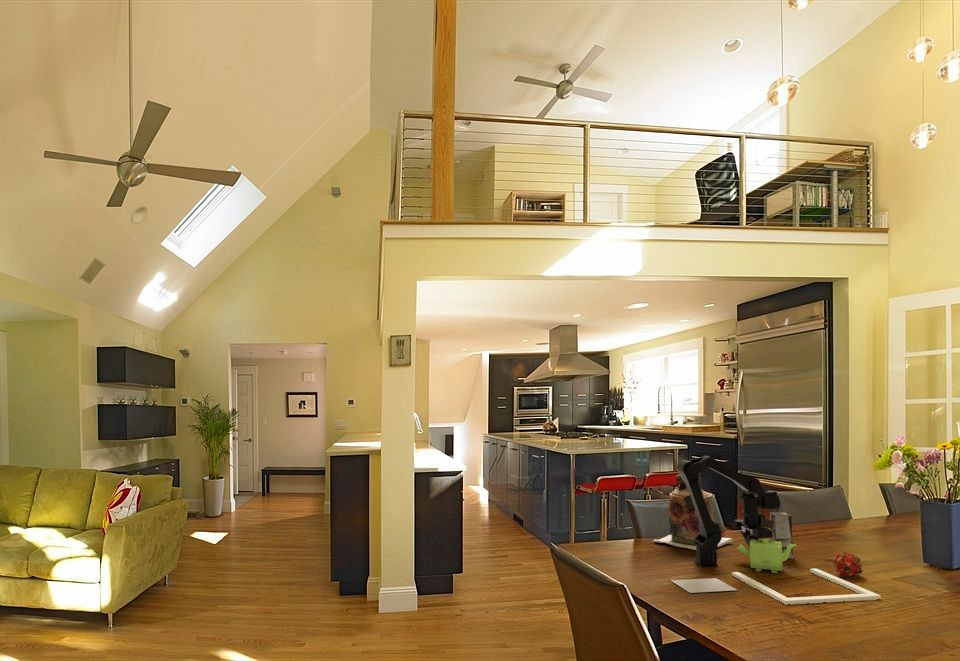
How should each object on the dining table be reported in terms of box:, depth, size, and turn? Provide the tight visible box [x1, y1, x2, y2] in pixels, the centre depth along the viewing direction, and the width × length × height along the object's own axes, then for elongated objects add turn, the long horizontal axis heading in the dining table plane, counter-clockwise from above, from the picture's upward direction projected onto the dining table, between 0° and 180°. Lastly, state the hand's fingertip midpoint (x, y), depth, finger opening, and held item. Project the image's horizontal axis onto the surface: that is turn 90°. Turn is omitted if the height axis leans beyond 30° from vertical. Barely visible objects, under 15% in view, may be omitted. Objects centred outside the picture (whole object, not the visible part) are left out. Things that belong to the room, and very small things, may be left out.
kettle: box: [737, 538, 797, 574], centre depth 242 cm, size 15×14×11 cm
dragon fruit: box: [833, 551, 863, 578], centre depth 235 cm, size 8×8×12 cm
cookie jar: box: [652, 472, 732, 551], centre depth 284 cm, size 25×25×32 cm
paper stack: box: [670, 577, 738, 594], centre depth 218 cm, size 23×25×1 cm
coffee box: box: [769, 511, 794, 559], centre depth 264 cm, size 9×6×16 cm
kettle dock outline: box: [731, 567, 882, 606], centre depth 222 cm, size 32×31×1 cm
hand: (752, 551), depth 252 cm, fingers closed
